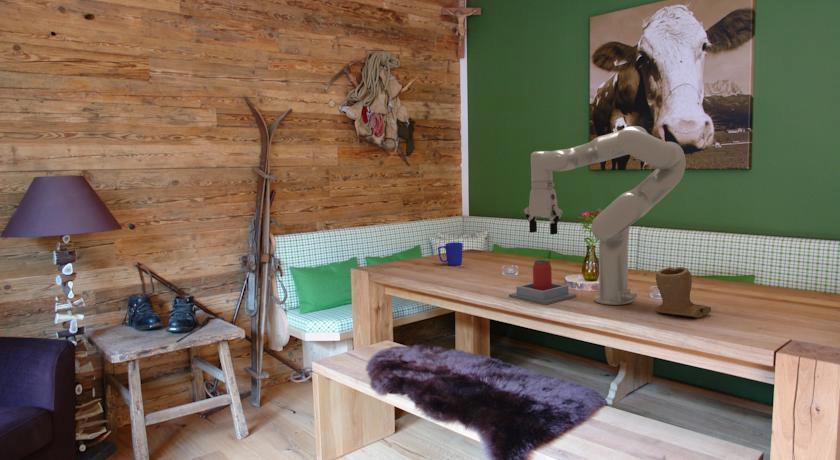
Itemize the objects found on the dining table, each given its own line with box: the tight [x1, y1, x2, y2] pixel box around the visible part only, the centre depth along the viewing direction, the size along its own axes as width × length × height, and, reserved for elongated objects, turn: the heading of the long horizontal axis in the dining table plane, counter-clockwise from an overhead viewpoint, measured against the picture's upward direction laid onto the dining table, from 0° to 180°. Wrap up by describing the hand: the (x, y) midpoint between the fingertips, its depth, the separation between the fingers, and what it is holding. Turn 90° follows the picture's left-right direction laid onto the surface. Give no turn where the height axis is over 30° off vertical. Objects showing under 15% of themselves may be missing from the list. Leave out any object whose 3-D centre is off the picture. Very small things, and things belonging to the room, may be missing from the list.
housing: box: [508, 282, 577, 306], centre depth 239 cm, size 18×16×4 cm
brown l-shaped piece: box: [655, 266, 712, 319], centre depth 206 cm, size 15×12×15 cm
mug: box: [437, 241, 464, 266], centre depth 311 cm, size 8×12×10 cm
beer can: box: [532, 259, 553, 291], centre depth 238 cm, size 7×7×12 cm
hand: (543, 233), depth 238 cm, fingers open, 9 cm apart
